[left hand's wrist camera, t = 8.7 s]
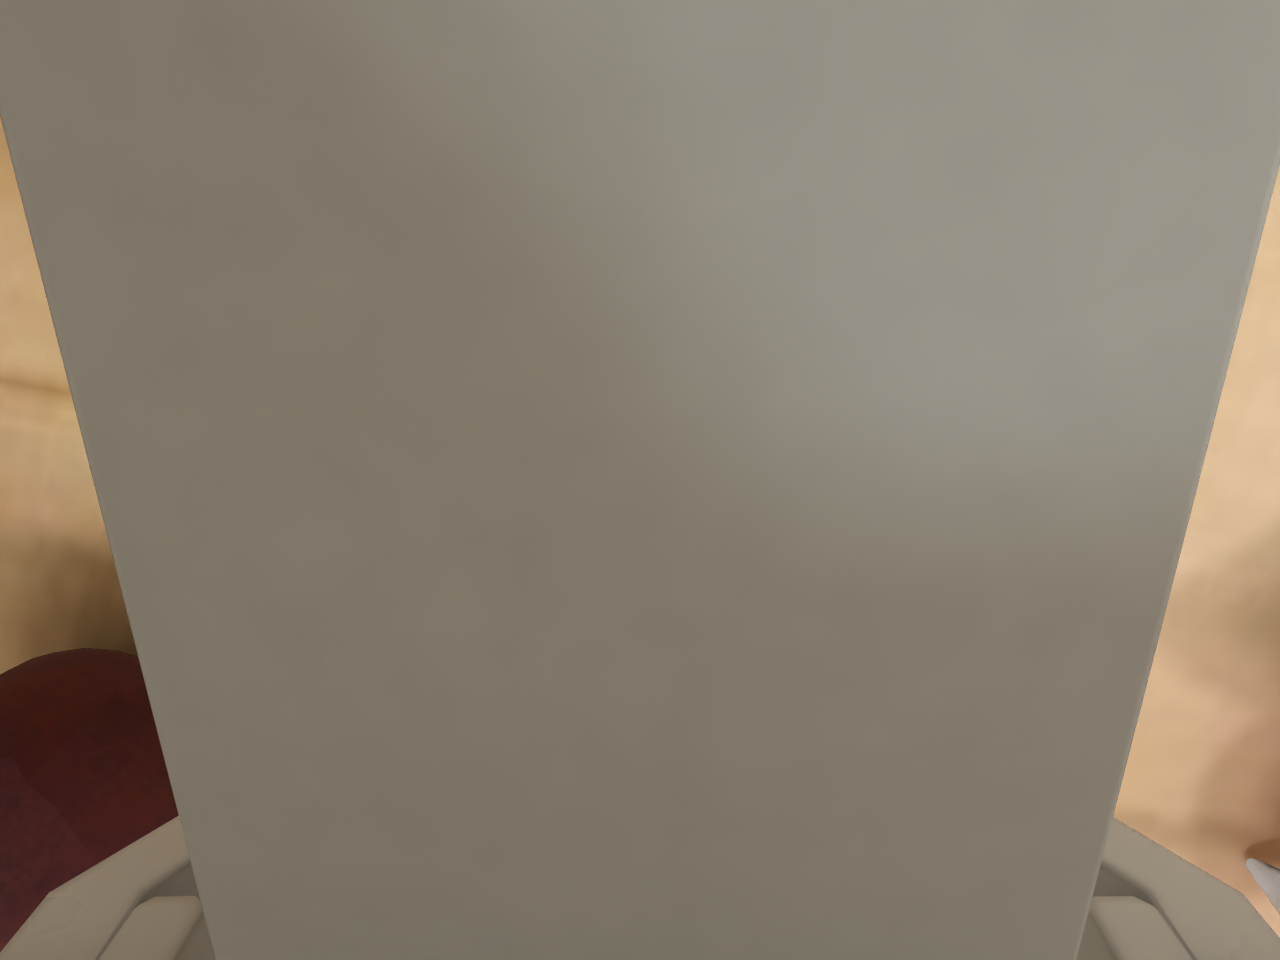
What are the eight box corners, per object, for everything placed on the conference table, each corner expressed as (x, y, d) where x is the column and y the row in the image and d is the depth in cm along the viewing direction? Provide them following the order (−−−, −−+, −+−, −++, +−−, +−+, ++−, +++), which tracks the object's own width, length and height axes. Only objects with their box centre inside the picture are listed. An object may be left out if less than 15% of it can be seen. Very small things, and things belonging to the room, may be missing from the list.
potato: (200, 575, 23) (21, 743, 16) (317, 789, 25) (205, 1009, 19) (-33, 639, 23) (-295, 825, 17) (105, 841, 26) (-75, 1070, 20)
